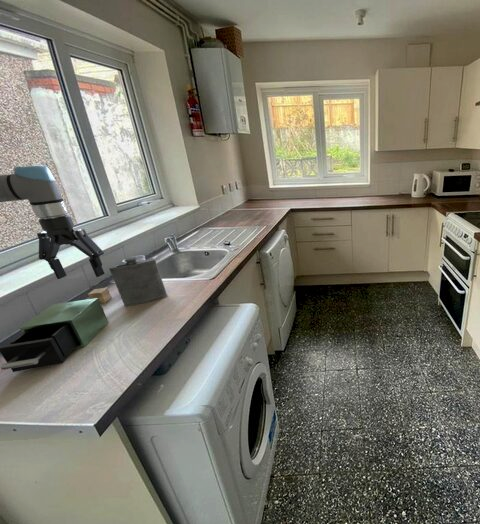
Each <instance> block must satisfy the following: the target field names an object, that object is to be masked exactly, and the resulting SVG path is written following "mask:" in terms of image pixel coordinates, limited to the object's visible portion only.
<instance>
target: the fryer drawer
mask: <svg viewBox="0 0 480 524" xmlns="http://www.w3.org/2000/svg"><path fill="white" fill-rule="evenodd" d="M79 343H80V342H79V341H78V339H77V337H76V335H75V333H74V331H73V329H72V327H71V325H70V323H65V324H58V325H51V326H45V327H38V328H32V329H28V330H27V331H25V332H24V333H21V334H20V335H18V336H17V337H15V338H14V339H13V340H12V341H10V342H9V344H5V345H1V346H0V354H1V356H2V357H3V359H4V361H5V362H4V363H2V364H1V365H0V370H2V371H4V370H11V371H12V373H16V372H22V371H27V370H32V369H33V370H34V369H38V368H45V367H50V366H55V365H62V364H65V362H66V359H65V358H66V357H67V356H68V355H70V353H71V352H72V351H73V350H75V349H76V348H75V347H76V346H77V345H78V344H79ZM74 348H75V349H74Z"/></svg>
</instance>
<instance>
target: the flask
mask: <svg viewBox="0 0 480 524" xmlns="http://www.w3.org/2000/svg"><path fill="white" fill-rule="evenodd" d="M125 261H126V262H127V263H123V262H122V263H119V264H113V265H111V266H109V267H108V269H109V271H110V274H111V276H112V279H113V282H114V284H115V286H116V289H117V292H118V293H119V296H120V298H121V301H122V303H123V306H124V307H130V306H135V305H140V304H145V303H150V302H154V301H157V300H161V299H165V298H166V297H168V293H167V290H166V287H165V285H164V284H165V283H164V282H163V278H162V276H161V272H160V270H159V266H158V264H157V260H156V259H155V258H149V259H145V260H144V261H139V262H136V257H133V256H130V257H127V258H125Z"/></svg>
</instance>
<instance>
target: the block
mask: <svg viewBox="0 0 480 524" xmlns="http://www.w3.org/2000/svg"><path fill="white" fill-rule="evenodd" d="M87 296H88V299H94V298H98V299H99V302H100V304H106V303H107V302H108V301H110V299H111V298H112V295H111V292H110V290H109V288H108V287H101V288H95V289H93V290H91V291H90V292H89V293H87Z"/></svg>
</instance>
